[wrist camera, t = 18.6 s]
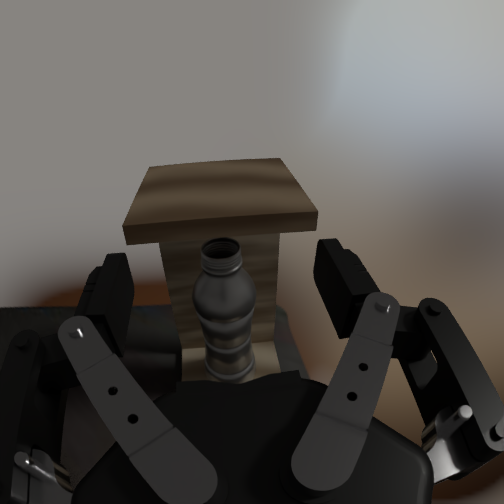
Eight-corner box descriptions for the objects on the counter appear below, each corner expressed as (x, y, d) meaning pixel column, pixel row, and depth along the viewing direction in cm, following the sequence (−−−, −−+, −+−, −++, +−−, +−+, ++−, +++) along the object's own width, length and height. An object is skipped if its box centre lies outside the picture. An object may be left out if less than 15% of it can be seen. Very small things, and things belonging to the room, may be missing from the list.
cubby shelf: (288, 409, 36) (318, 211, 21) (184, 419, 35) (122, 225, 19) (271, 340, 46) (279, 158, 31) (183, 347, 44) (149, 167, 29)
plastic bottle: (202, 395, 36) (174, 268, 25) (211, 354, 42) (194, 227, 31) (253, 400, 36) (253, 273, 25) (258, 358, 42) (260, 230, 30)
